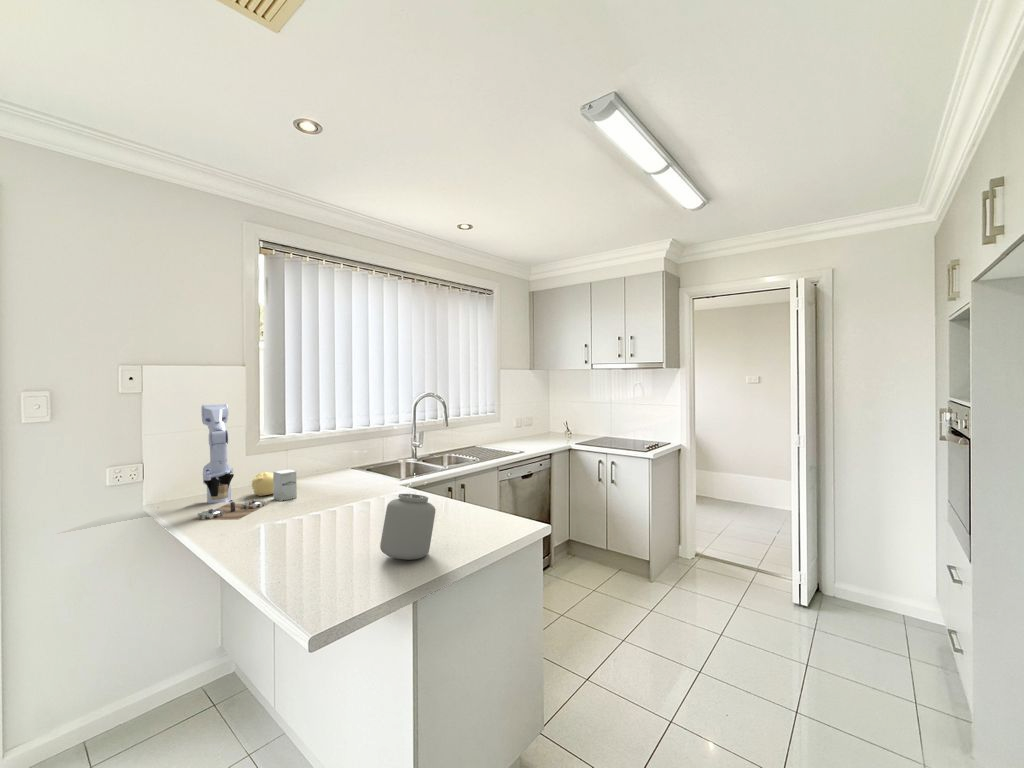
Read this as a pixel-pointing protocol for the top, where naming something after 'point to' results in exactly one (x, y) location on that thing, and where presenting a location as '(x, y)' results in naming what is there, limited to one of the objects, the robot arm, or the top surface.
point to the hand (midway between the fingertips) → (219, 494)
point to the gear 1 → (210, 514)
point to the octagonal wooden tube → (221, 492)
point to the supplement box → (284, 485)
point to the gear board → (233, 512)
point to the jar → (408, 527)
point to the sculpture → (263, 484)
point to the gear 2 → (253, 504)
